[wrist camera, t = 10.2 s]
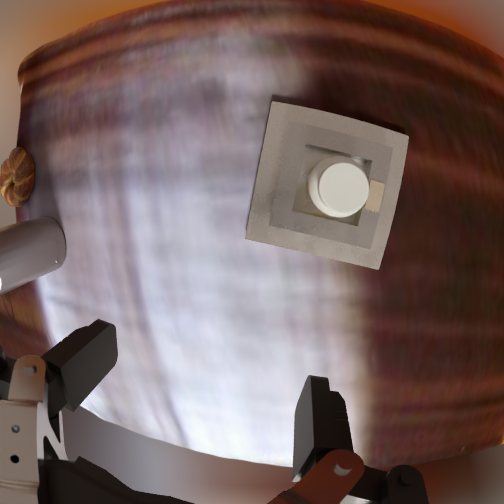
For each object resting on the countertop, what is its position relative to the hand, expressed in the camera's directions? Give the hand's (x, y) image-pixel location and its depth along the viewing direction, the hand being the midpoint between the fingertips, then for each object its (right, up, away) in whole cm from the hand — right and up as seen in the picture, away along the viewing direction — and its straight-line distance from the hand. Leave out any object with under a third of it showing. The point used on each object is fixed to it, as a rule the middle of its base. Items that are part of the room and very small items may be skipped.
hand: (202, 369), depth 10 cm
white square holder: (+11, +12, +20) cm, 26 cm away
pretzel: (-41, +18, +28) cm, 52 cm away
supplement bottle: (+10, +12, +19) cm, 25 cm away
